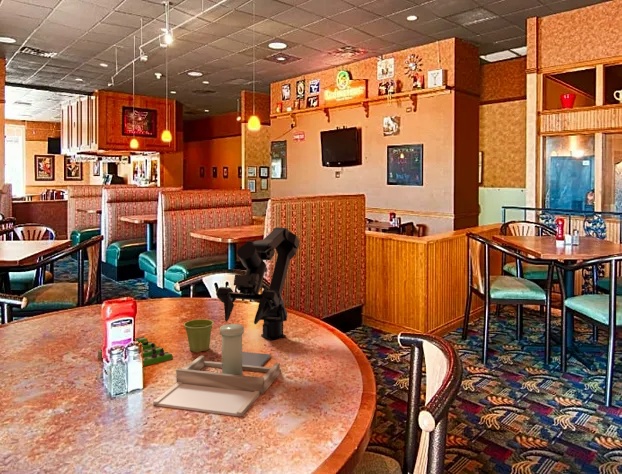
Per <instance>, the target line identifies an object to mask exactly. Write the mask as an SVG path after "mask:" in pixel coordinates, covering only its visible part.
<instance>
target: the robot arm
mask: <svg viewBox="0 0 622 474" xmlns="http://www.w3.org/2000/svg"><path fill="white" fill-rule="evenodd" d="M299 248H300V240H299V237H298V236H297V235H296V234H295V233H293V232H291V231H290V230H289V229H288V228H287V227H273V229H272V231H271V232H270V233H269V234H267V235H266V236H265V237H264V238H263V239H257V240H254V241H252V240H247V241H246V242H245V243H244V244H242V245H241V246H240V247H239V248H238V249H237V252H236V254H237V256H238V259H239V260H240V262H241V264H242V266H243V267H244V268H246V270H245V274H234V279H233V286H236V289H237V291H239V292H237V291H235V292H234V290H233V289H232V288H231V287H227V286H225V287H224V286H220V287H218V288H217V290H216V293H215V295H216V297H218V299H219V300H220V301H221V303H223V306H224V308H223V309H224V320H225V323H227V322H228V321H229V319H230V318H231V315H232V311H233V309H234V306H235V304H234V303H235V301H236V300H246V301H247V300H248V301H258V306H257V310H256V313H255V316H254V320H253V324H254V325H257V324H258V323H259V322H260V321H263V324H262V334H260V336H261V337H263V338H265V339H267V340H269V341H270V340H271V341H274V340H278V339H282V338H286V337H287V335H286V334H285V333H284V322H287V321H288V311H287V309H286V307H285V301H284V298H283V296H282V295H283V291H284V285H285V282H286V278H287V273H288V271H289V270H288V269H289V265H290V261H291V259H293V258H294V257H295V256H296V254H297V252H298V249H299ZM275 253H276V254H277V257H276V261H275V264H274V268H273V273H272V276H271V280H270V284H269V288H268V290H267V289H264V290H262V292H261V293H260V290H261V288H263V286H264V285H263V279H264V276H265V273H266V272H267V273H268V268H267V264H266V263H265V261H271V260H272V259H273V257H274V256H275Z"/></svg>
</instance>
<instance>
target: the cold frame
mask: <svg viewBox="0 0 622 474" xmlns="http://www.w3.org/2000/svg"><path fill="white" fill-rule="evenodd" d="M205 359H206V358H205V355H200V356H198V357H197V358H196V359H194V360H193V361H191V362H190V363H188V364H187V365H186V366H185V367H183V368H177V369H176V370H175V371H176V372H175V373H176V374H175V375H176V376H175V377H176V379H175V380H176V383H177V382H182V384H189V385H197V386H206V387H214V388H223V389H231V390H240V391H249V392H254V391H259V395H264V394H265V392H266V391H267V390H268V389H269V388H270V386H271V385H272V383H274V381H276V379H277V378H278V376H279V375H280V374H281V373H282V368H280V363H277V362H276V363H274V364H273V365H272V366H271V367H270V366H269V367H268V366H262V367H260V366H250V365H242V371H250V372H252V371H253V372H261V373H265V374H264V375H263V377H258V376H251V375H234V374H225V373H222V372H214V371H207V370H206V371H205V370H201V369H203V368H204V367H213V368H222V361H221V362H220V361H219V362H218V361H211V360H210V361H209V360H205Z"/></svg>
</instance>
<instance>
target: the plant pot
mask: <svg viewBox="0 0 622 474" xmlns="http://www.w3.org/2000/svg"><path fill="white" fill-rule="evenodd" d="M214 322H215V321H214V320H211V319H204V318H203V319H202V318H201V319H199V318H198V319H191V320H188V321H185V322H184V323H183V327H184V328H185V331H186V335H187V341H188V347H189V350H190V351H191V352H193V353H200V352H202V351H203V352H207V351H208V350H209V349H210V346H211V345H210V343H211V336H212V329H213V326H214V324H215V323H214Z"/></svg>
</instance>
